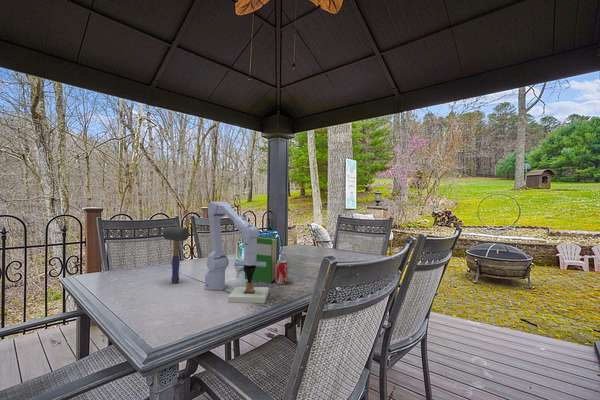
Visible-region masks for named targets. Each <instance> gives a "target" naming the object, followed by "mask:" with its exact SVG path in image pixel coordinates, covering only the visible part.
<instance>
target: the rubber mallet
mask: <svg viewBox="0 0 600 400" xmlns="http://www.w3.org/2000/svg"><path fill="white" fill-rule="evenodd" d="M162 232H163V233H162V236H163V238H164V240H168V241H173V248H172V249H173V250H172V259H171V269H172V272H171V282H172V283H173V284H177V283H179V281H180V272H179V271H180V255H179V242H183V241H184V242H185V241H187V240H188V239H189V236H190V231H189V229H188V228H187V227H183V226H182V227H181V226H167V227H165V228H164V230H163V231H162Z"/></svg>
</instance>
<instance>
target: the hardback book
mask: <svg viewBox="0 0 600 400" xmlns="http://www.w3.org/2000/svg"><path fill="white" fill-rule="evenodd" d="M279 241H280V239H279V237H272V236H263V235H261V236H260V235H259V237H258V238H257V253H256V261H260V262H266V267H258V266H256V269H255V271H254V273H253V277H252V281H253V282H259V283H260V282H261V283H265V284H270V285H271V284H272V283H273V281H274V282H275V265H276V263H277V261H278V260H279V248H280V246H279V244H280V243H279ZM244 280H247V276H246V273H245V272H244Z"/></svg>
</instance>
